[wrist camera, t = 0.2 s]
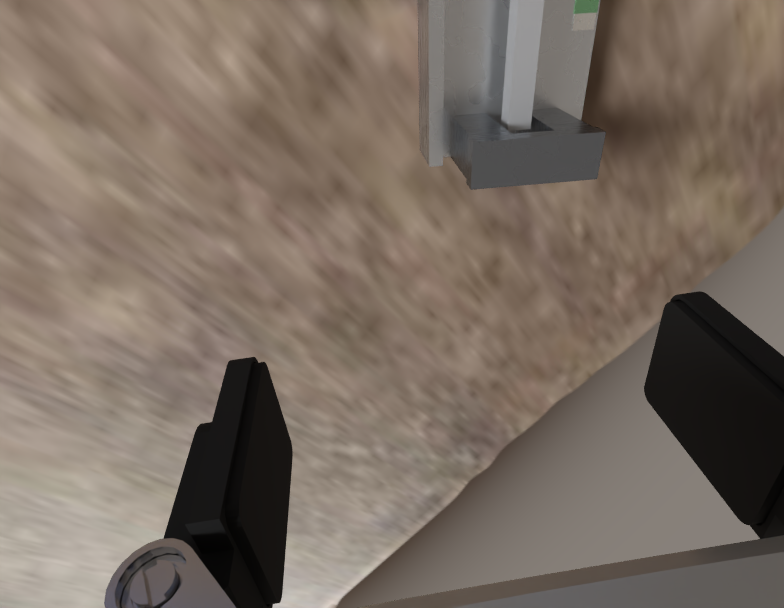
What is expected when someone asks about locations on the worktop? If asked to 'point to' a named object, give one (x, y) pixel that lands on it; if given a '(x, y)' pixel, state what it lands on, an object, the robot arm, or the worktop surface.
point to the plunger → (521, 63)
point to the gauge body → (485, 93)
